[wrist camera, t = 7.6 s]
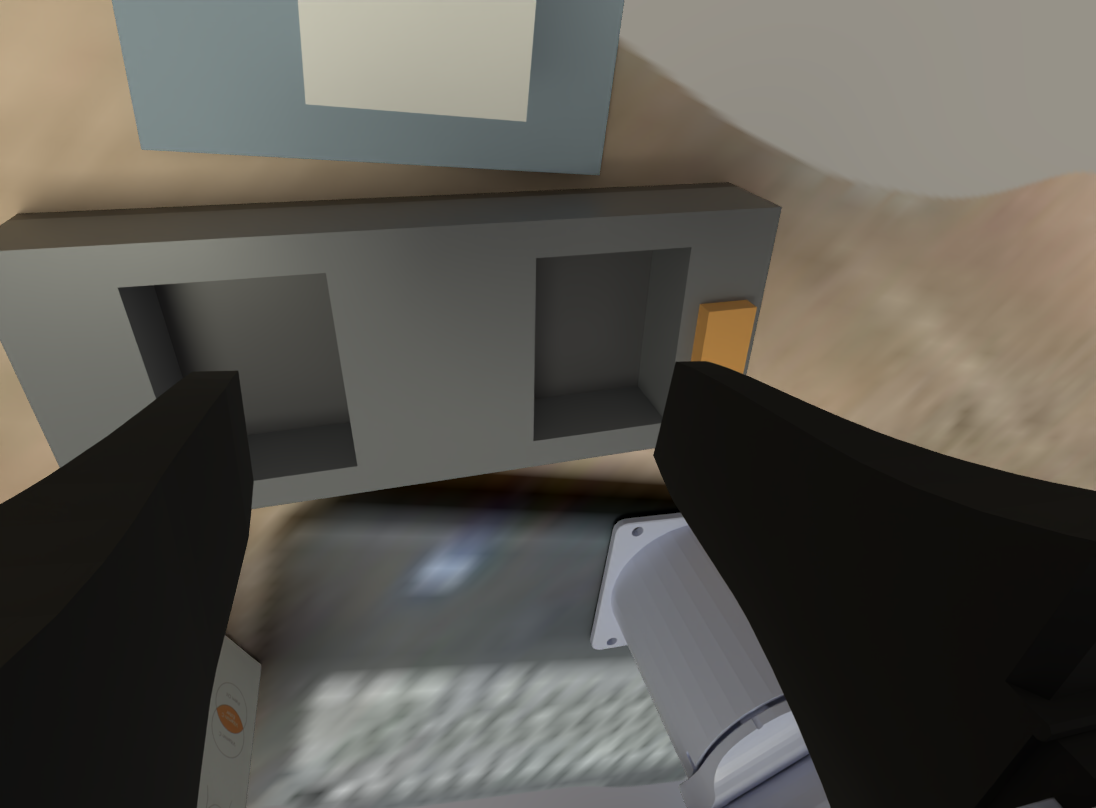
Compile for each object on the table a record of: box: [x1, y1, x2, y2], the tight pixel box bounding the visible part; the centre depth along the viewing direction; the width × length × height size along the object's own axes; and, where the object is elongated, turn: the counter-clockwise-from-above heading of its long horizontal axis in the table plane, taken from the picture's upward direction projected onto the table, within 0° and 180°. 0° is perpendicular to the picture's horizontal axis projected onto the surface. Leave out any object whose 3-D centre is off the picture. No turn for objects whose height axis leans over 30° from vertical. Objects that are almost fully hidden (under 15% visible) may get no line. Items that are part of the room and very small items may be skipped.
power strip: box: [0, 182, 782, 509], centre depth 19 cm, size 20×8×4 cm, turn 89°
